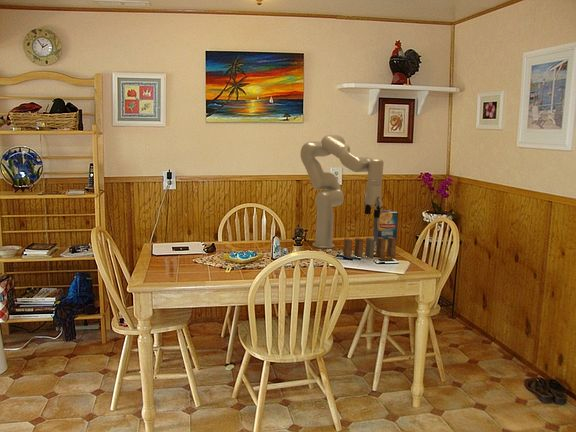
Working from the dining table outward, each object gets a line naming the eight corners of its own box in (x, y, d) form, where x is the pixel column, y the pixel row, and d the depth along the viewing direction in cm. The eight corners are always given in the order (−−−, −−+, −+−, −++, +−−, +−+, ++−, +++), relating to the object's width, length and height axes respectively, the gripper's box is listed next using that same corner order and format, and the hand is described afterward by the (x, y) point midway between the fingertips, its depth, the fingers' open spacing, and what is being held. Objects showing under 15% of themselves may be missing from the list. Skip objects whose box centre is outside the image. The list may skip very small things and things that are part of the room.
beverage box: (395, 251, 306) (398, 212, 303) (376, 251, 304) (379, 212, 300) (390, 248, 313) (393, 210, 309) (371, 249, 310) (374, 210, 307)
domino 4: (375, 255, 295) (377, 237, 293) (379, 255, 296) (380, 237, 294) (380, 258, 290) (381, 239, 289) (384, 257, 291) (385, 239, 289)
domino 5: (386, 255, 297) (388, 237, 296) (390, 255, 298) (391, 236, 296) (391, 257, 293) (392, 239, 291) (394, 257, 293) (396, 238, 292)
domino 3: (365, 256, 293) (366, 237, 291) (368, 256, 294) (370, 237, 292) (369, 258, 288) (370, 239, 286) (373, 258, 289) (374, 239, 287)
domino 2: (354, 256, 290) (355, 238, 289) (357, 256, 291) (359, 237, 290) (358, 259, 286) (359, 240, 284) (362, 258, 287) (363, 240, 285)
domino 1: (342, 257, 288) (344, 238, 287) (346, 257, 289) (347, 238, 287) (347, 259, 284) (348, 240, 282) (350, 259, 284) (352, 240, 283)
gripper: (360, 180, 291) (357, 212, 294) (376, 185, 275) (373, 218, 278) (372, 181, 293) (370, 212, 296) (389, 185, 277) (386, 218, 280)
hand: (372, 215), depth 287 cm, fingers open, 9 cm apart
